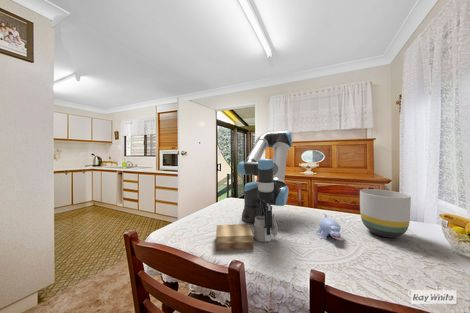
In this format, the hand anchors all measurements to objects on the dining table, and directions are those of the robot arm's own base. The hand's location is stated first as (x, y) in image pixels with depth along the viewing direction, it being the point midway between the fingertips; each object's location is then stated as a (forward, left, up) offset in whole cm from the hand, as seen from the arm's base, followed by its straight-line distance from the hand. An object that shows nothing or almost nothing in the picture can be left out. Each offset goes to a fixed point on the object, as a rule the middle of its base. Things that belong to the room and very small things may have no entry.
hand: (265, 236), depth 85 cm
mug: (0, 0, -1) cm, 1 cm away
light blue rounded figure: (-32, +3, -1) cm, 32 cm away
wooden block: (+16, +3, -1) cm, 16 cm away
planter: (-61, +2, -1) cm, 61 cm away
